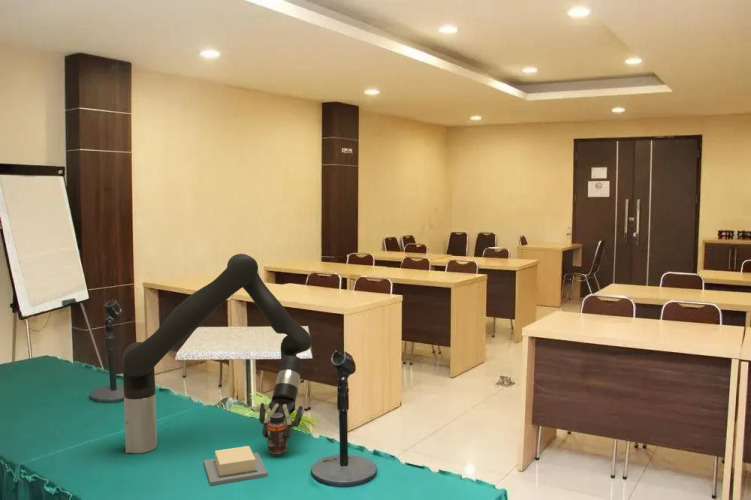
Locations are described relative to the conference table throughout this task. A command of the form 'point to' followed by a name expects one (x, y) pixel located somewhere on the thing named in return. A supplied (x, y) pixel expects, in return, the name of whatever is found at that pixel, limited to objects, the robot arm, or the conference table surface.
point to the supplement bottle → (276, 434)
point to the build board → (234, 478)
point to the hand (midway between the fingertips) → (275, 437)
